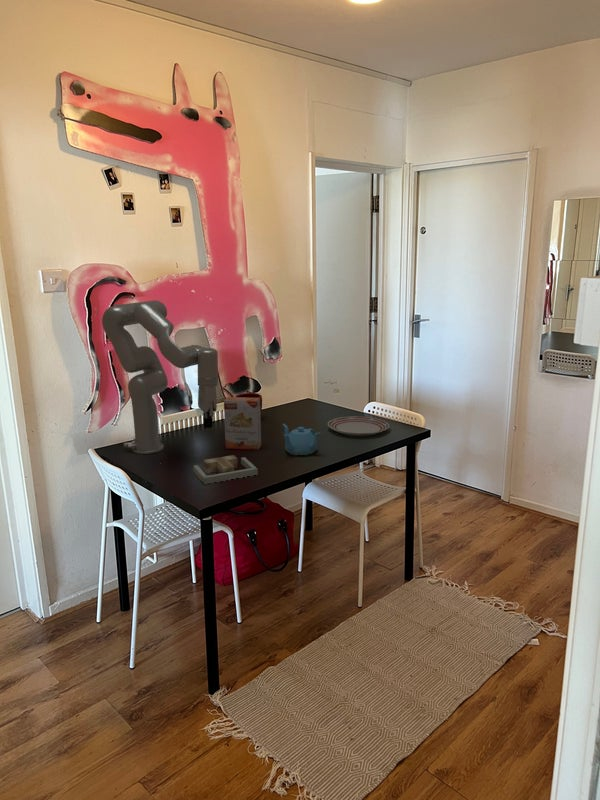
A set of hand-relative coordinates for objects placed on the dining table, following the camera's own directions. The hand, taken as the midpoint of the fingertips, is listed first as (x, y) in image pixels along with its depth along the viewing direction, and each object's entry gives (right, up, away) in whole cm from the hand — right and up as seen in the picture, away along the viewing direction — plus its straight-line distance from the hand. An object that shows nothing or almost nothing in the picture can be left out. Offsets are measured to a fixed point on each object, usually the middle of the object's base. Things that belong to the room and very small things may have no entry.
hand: (208, 427), depth 233 cm
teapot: (+35, -11, +10) cm, 38 cm away
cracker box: (+12, -9, +17) cm, 23 cm away
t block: (+8, -16, -11) cm, 21 cm away
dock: (+8, -17, -12) cm, 22 cm away
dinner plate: (+62, -4, +38) cm, 72 cm away
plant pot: (+11, +1, +56) cm, 57 cm away
